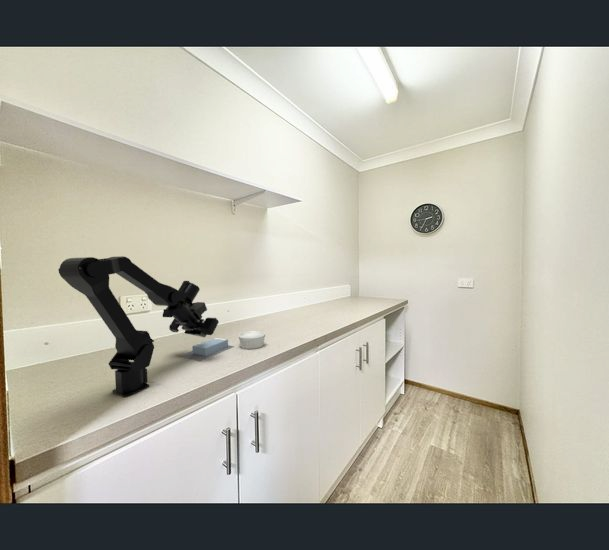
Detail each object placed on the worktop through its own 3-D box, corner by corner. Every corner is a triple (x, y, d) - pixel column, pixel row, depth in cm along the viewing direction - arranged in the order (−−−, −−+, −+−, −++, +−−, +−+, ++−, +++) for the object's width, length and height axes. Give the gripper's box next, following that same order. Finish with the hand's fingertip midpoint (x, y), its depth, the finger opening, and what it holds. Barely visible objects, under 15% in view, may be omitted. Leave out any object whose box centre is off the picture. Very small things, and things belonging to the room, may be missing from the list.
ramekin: (241, 342, 110) (241, 331, 110) (266, 342, 111) (266, 330, 110) (235, 351, 99) (235, 338, 99) (263, 350, 99) (263, 337, 99)
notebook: (205, 348, 93) (227, 339, 103) (192, 345, 96) (215, 337, 106) (205, 356, 93) (228, 346, 103) (192, 353, 96) (215, 344, 107)
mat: (200, 362, 87) (200, 361, 87) (177, 357, 93) (177, 356, 93) (234, 347, 104) (234, 346, 104) (213, 343, 109) (213, 343, 109)
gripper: (214, 296, 89) (233, 320, 100) (174, 295, 95) (195, 318, 106) (200, 322, 82) (221, 345, 93) (157, 320, 88) (182, 341, 98)
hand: (204, 336), depth 98 cm, fingers closed
